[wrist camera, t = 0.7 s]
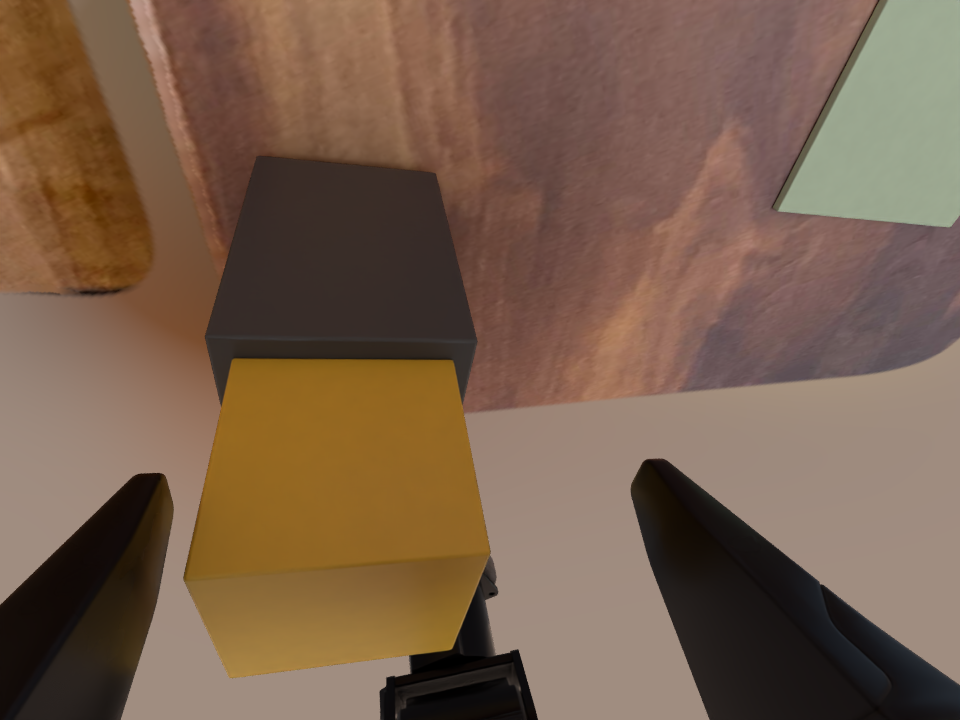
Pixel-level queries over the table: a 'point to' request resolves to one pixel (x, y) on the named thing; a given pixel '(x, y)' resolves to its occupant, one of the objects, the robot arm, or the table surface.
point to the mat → (889, 124)
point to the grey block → (341, 270)
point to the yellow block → (336, 514)
